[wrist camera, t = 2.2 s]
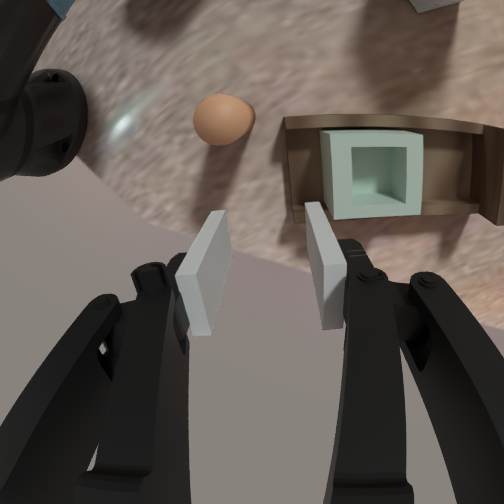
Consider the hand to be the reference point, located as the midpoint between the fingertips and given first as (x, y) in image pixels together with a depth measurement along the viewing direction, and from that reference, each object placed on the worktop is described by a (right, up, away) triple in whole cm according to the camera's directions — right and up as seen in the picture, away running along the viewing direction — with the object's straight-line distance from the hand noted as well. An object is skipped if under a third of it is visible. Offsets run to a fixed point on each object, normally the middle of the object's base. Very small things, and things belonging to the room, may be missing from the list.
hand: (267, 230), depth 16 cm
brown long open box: (+16, +9, +15) cm, 24 cm away
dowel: (-2, +13, +14) cm, 20 cm away
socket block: (+11, +8, +14) cm, 20 cm away
